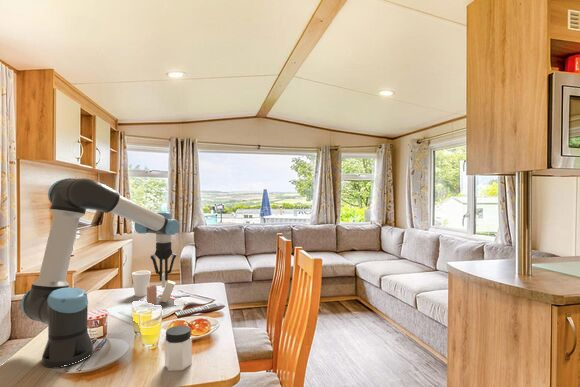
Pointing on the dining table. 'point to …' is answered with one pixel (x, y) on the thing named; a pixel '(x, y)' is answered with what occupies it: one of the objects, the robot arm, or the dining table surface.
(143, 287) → the foam cup
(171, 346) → the jar
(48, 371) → the dining table surface
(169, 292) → the cream pillar
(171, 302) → the mat
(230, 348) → the dining table surface
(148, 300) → the brick pillar
